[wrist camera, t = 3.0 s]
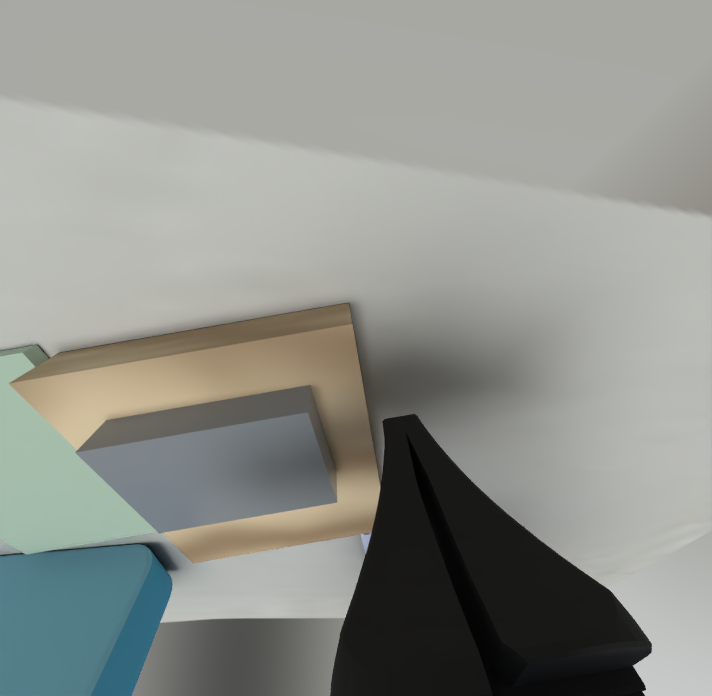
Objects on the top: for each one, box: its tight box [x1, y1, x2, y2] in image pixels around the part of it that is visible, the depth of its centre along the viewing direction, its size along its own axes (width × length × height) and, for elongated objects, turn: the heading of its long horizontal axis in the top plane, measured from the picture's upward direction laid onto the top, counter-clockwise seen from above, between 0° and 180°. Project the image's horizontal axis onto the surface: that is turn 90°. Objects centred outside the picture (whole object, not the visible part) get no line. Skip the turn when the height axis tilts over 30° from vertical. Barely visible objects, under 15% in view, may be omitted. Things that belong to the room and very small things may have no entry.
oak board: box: [8, 303, 381, 563], centre depth 14 cm, size 14×12×2 cm
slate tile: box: [75, 385, 337, 533], centre depth 11 cm, size 6×8×2 cm
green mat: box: [0, 345, 157, 555], centre depth 14 cm, size 13×10×1 cm
